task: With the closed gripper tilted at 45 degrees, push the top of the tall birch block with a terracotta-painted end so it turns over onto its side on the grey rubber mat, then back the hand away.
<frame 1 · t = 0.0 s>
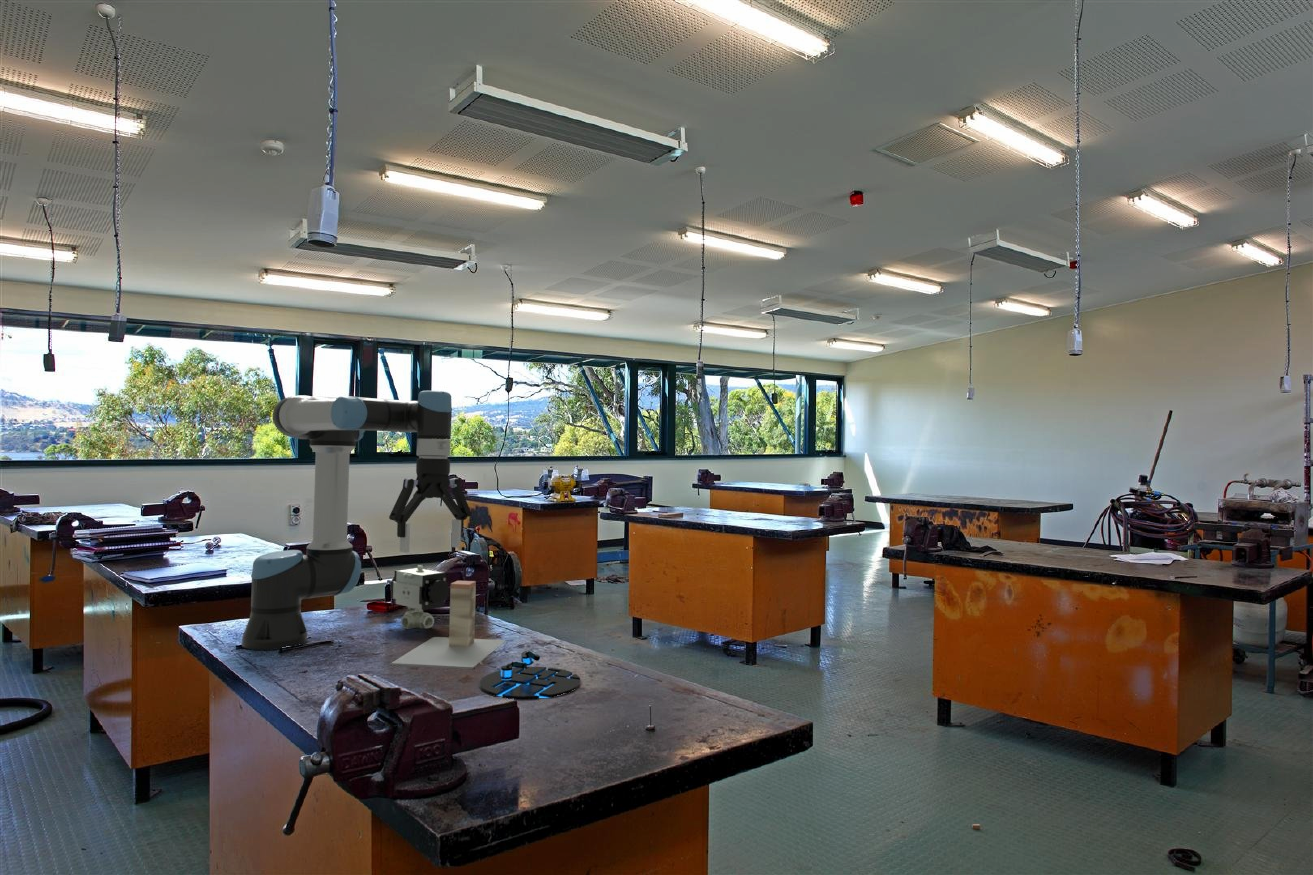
hand: (430, 549, 176), 28 cm above the table, tool pointing down, fingers open, 13 cm apart
ball valve: (416, 628, 217), on the table
platform: (530, 686, 168), on the table
birch block: (461, 644, 198), point 1 cm above the table, touching rubber mat
rubber mat: (451, 653, 191), on the table
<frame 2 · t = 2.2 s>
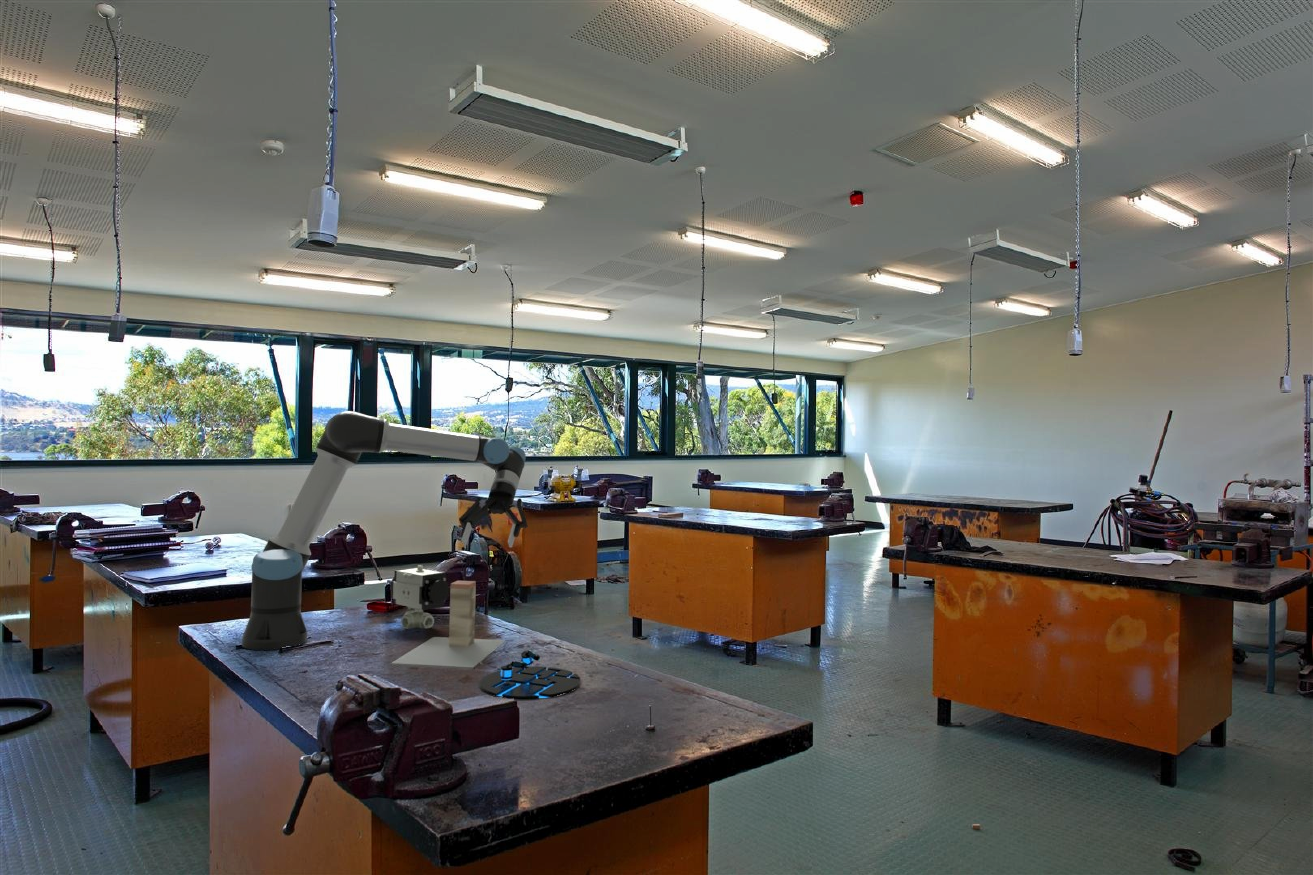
hand: (486, 543, 216), 25 cm above the table, tool tilted 45°, fingers open, 13 cm apart
nothing on the table moved.
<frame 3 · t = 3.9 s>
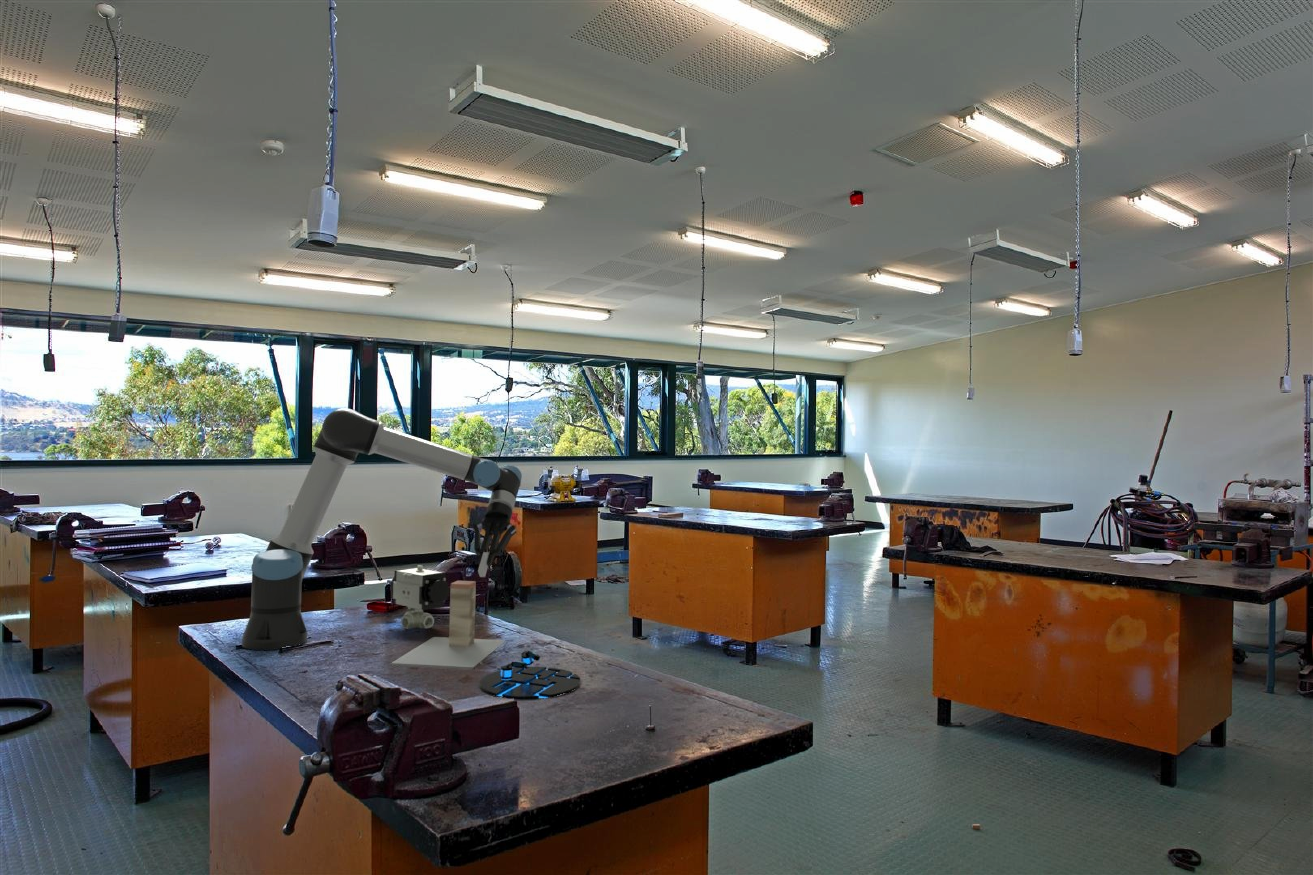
hand: (481, 573, 210), 17 cm above the table, tool tilted 45°, fingers closed
nothing on the table moved.
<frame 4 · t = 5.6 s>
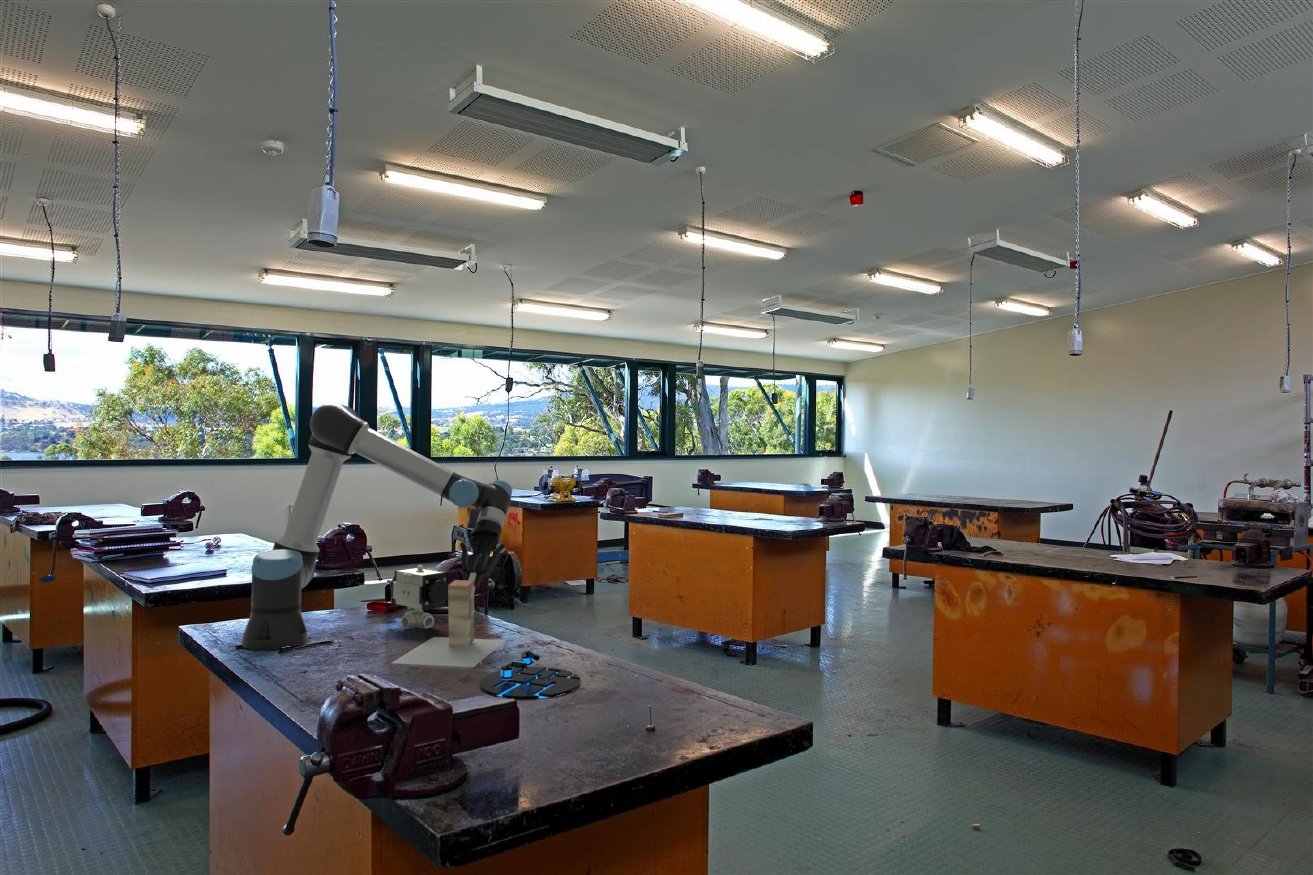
hand: (468, 596, 201), 13 cm above the table, tool tilted 45°, fingers closed
birch block: (461, 643, 198), point 1 cm above the table, tilted 6°, touching rubber mat
everything else where it was.
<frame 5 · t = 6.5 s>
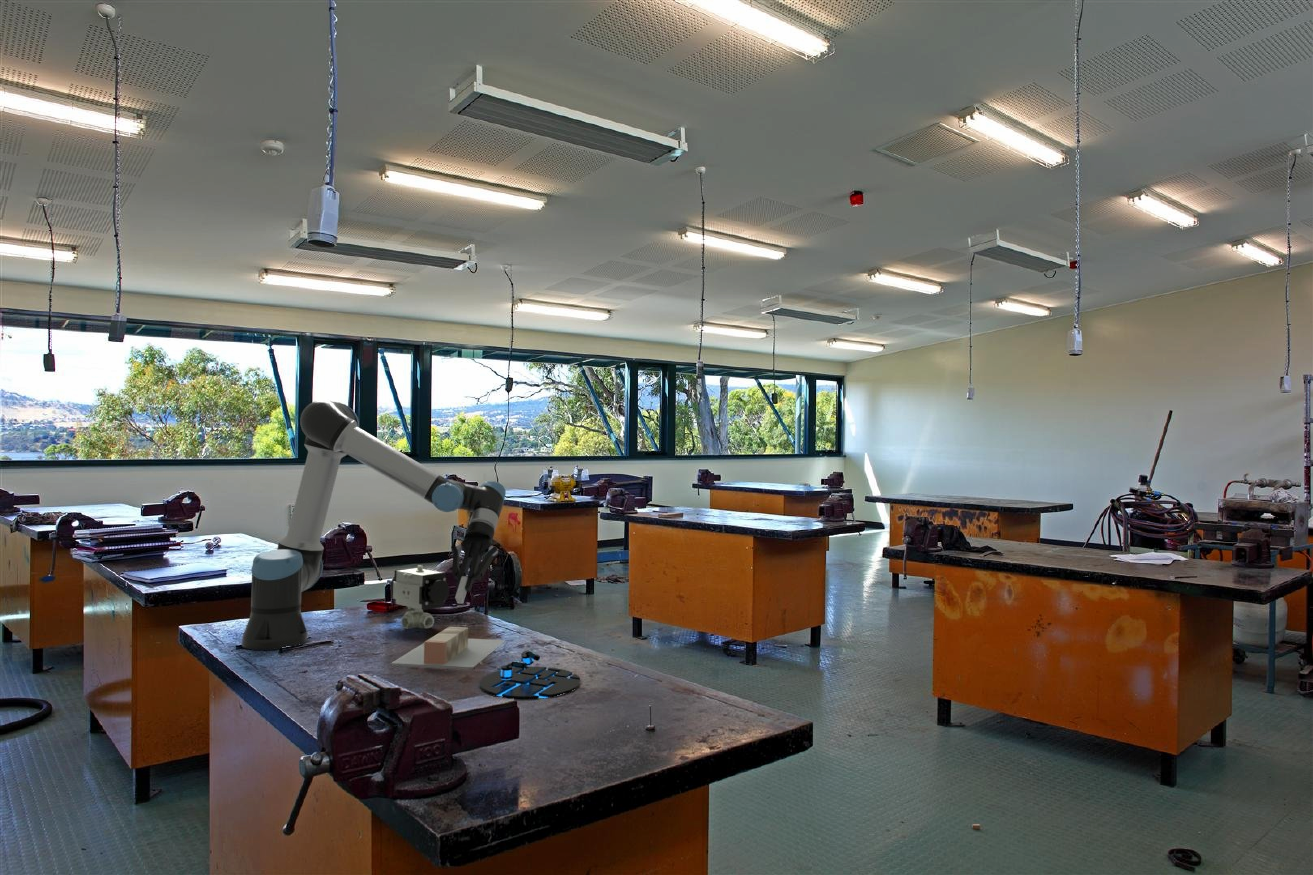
hand: (459, 600, 194), 13 cm above the table, tool tilted 45°, fingers closed
birch block: (458, 636, 195), point 3 cm above the table, tilted 90°, touching rubber mat
everything else where it was.
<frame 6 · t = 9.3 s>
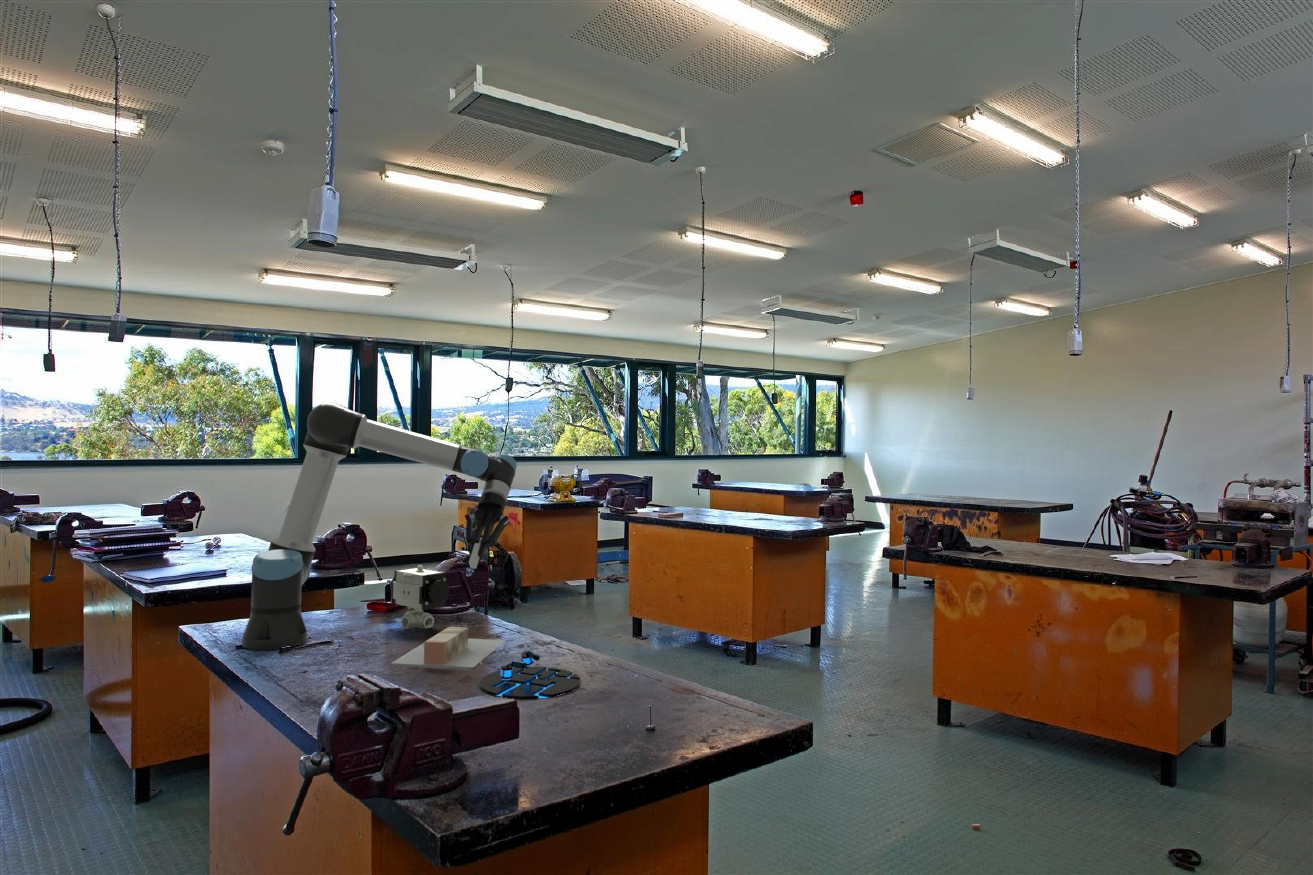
hand: (472, 565, 205), 20 cm above the table, tool tilted 45°, fingers closed
nothing on the table moved.
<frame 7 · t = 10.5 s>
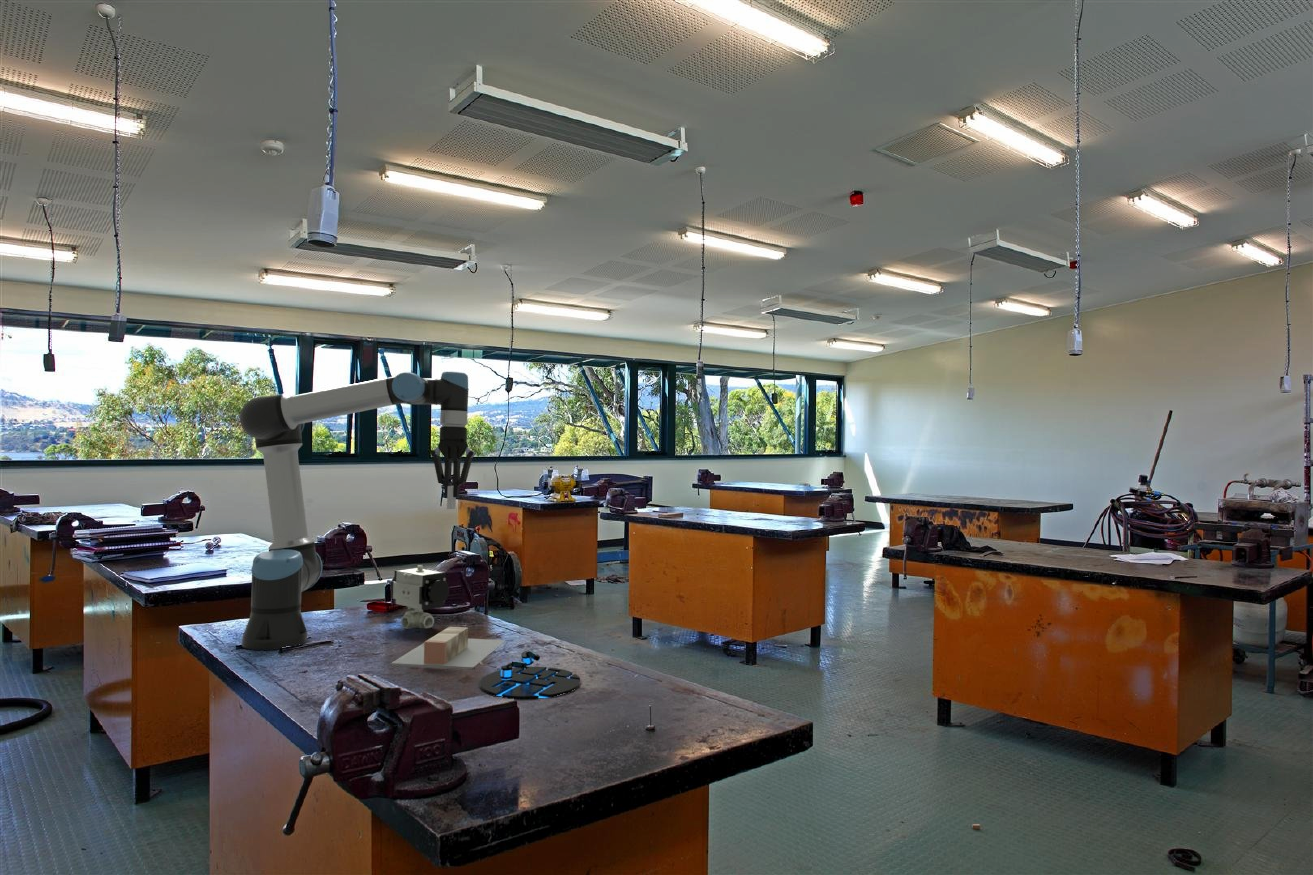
hand: (451, 508, 217), 34 cm above the table, tool pointing down, fingers closed
nothing on the table moved.
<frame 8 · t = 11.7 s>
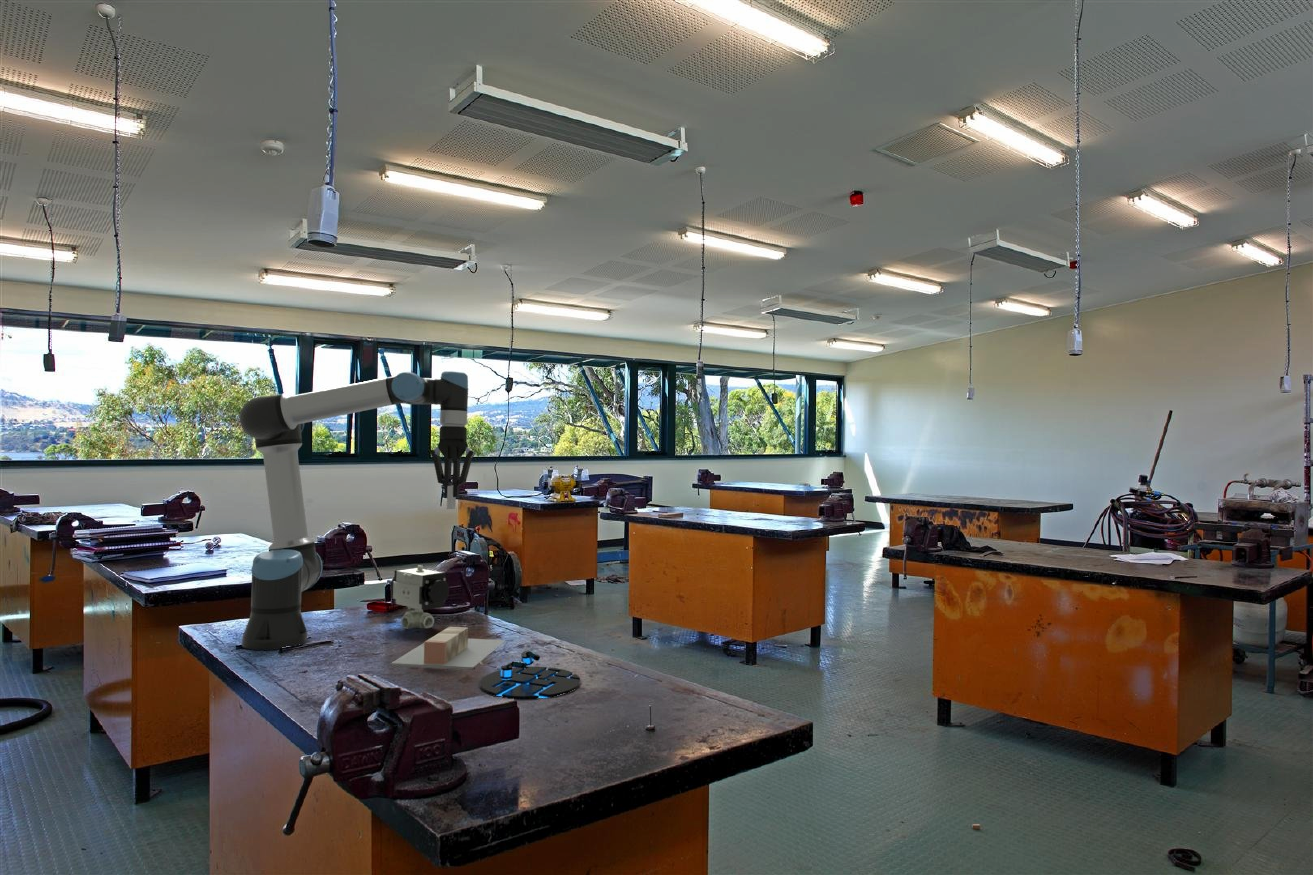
hand: (451, 508, 217), 34 cm above the table, tool pointing down, fingers closed
nothing on the table moved.
at the end: birch block tilted 90°; birch block touching rubber mat; birch block 4.3 cm from the rubber mat (horizontally) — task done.
